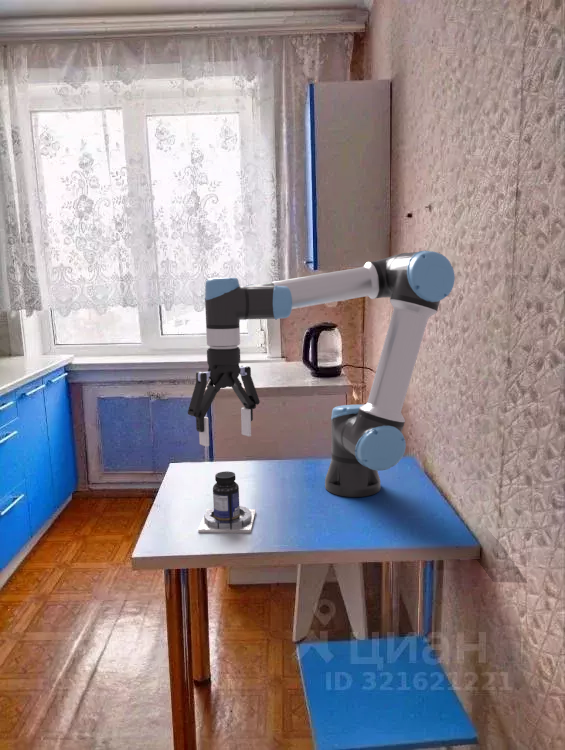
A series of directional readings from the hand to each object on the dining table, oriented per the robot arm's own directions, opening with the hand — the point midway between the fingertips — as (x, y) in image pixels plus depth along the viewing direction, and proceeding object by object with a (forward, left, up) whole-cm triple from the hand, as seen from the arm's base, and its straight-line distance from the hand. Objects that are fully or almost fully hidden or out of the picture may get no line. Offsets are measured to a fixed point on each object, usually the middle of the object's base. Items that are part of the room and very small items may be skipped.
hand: (225, 440), depth 138 cm
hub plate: (0, 0, -20) cm, 20 cm away
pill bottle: (0, 0, -19) cm, 19 cm away
